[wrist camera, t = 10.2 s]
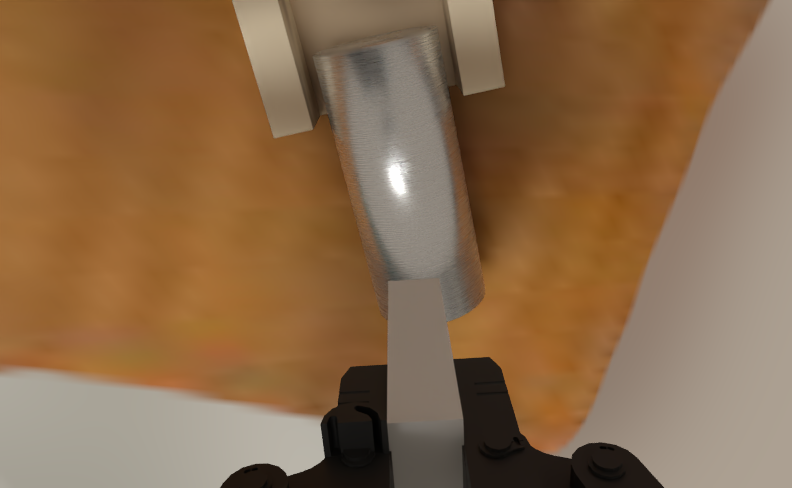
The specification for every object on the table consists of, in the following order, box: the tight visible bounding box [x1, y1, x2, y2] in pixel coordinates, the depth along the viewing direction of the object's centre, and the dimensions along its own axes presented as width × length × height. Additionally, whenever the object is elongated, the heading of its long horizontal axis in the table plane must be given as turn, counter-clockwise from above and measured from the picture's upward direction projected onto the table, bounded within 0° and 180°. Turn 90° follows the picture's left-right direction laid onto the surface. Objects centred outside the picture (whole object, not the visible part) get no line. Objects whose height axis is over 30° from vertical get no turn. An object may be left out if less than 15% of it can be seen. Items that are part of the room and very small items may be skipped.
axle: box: [313, 25, 485, 322], centre depth 32 cm, size 14×6×6 cm, turn 12°
